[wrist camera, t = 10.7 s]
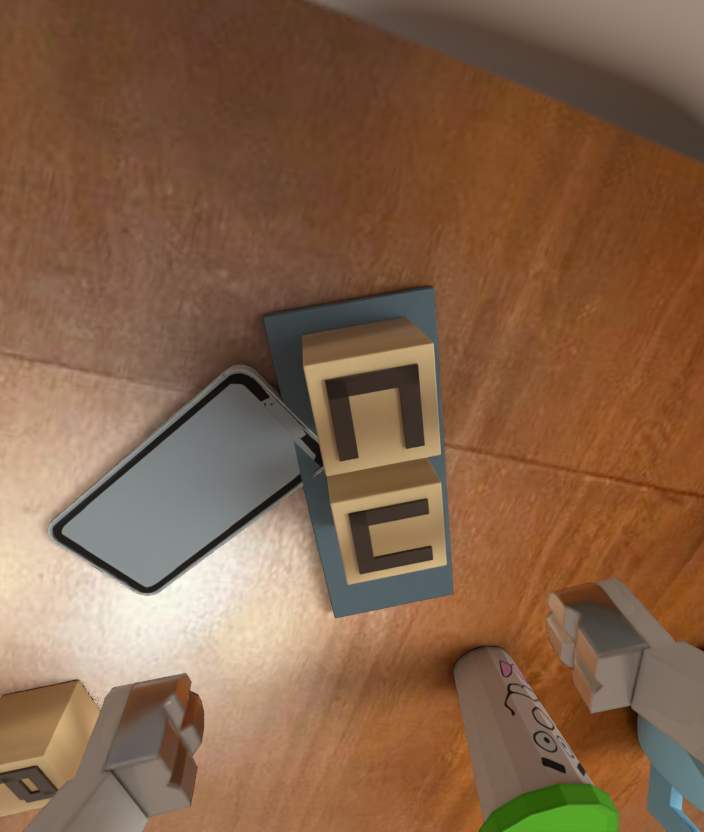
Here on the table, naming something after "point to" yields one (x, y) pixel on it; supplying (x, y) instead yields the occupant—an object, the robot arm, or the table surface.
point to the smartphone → (190, 484)
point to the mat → (293, 387)
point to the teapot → (670, 778)
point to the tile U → (388, 520)
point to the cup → (523, 754)
